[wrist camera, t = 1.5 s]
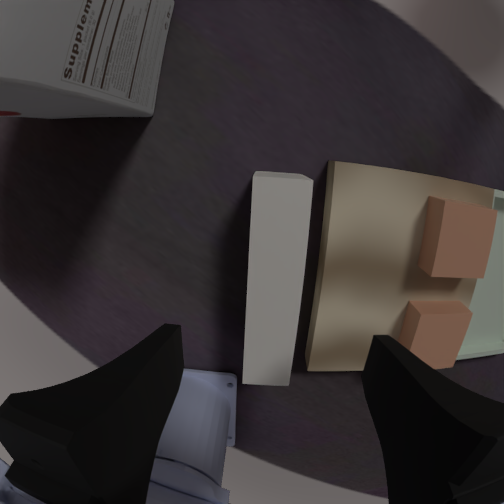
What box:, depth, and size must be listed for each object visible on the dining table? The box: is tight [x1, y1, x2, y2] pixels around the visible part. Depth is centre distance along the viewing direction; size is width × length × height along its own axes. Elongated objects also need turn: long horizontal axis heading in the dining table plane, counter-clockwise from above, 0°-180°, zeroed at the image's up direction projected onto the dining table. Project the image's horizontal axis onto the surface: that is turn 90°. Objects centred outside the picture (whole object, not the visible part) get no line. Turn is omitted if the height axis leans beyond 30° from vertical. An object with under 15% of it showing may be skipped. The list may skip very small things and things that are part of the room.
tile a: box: [398, 301, 473, 369], centre depth 19 cm, size 4×4×2 cm
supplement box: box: [0, 0, 174, 119], centre depth 10 cm, size 9×9×15 cm
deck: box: [305, 161, 495, 371], centre depth 19 cm, size 14×12×2 cm
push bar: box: [242, 171, 313, 386], centre depth 18 cm, size 12×3×5 cm, turn 177°
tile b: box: [417, 196, 498, 279], centre depth 16 cm, size 4×4×2 cm
